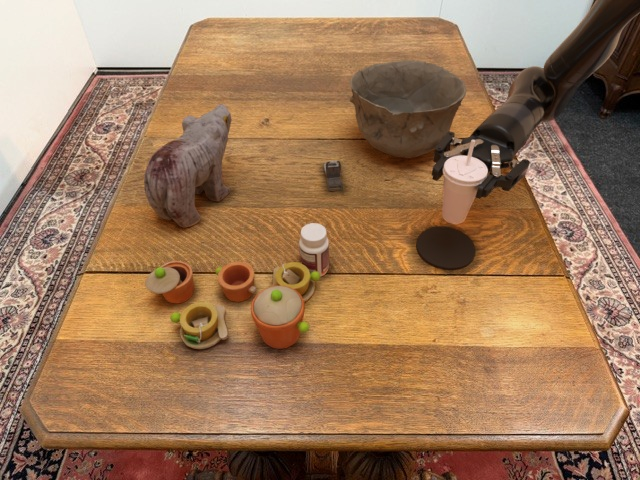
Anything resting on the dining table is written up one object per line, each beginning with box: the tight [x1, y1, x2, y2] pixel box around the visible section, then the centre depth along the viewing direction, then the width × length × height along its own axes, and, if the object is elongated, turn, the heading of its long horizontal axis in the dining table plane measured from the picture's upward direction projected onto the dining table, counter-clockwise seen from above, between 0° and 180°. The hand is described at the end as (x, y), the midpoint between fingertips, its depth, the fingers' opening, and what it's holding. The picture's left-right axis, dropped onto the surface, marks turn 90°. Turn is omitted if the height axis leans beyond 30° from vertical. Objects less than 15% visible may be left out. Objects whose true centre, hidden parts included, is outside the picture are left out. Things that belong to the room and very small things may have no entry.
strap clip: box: [323, 160, 344, 192], centre depth 94 cm, size 8×3×4 cm, turn 7°
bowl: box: [349, 59, 467, 159], centre depth 98 cm, size 22×22×15 cm
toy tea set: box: [145, 260, 321, 350], centre depth 69 cm, size 26×16×10 cm, turn 90°
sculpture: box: [143, 103, 232, 229], centre depth 86 cm, size 12×21×15 cm, turn 175°
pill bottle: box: [298, 222, 330, 278], centre depth 76 cm, size 5×5×8 cm
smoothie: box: [441, 140, 488, 225], centre depth 71 cm, size 6×6×14 cm
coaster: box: [415, 225, 477, 271], centre depth 81 cm, size 10×10×1 cm
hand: (456, 184), depth 69 cm, fingers closed on smoothie, 6 cm apart
